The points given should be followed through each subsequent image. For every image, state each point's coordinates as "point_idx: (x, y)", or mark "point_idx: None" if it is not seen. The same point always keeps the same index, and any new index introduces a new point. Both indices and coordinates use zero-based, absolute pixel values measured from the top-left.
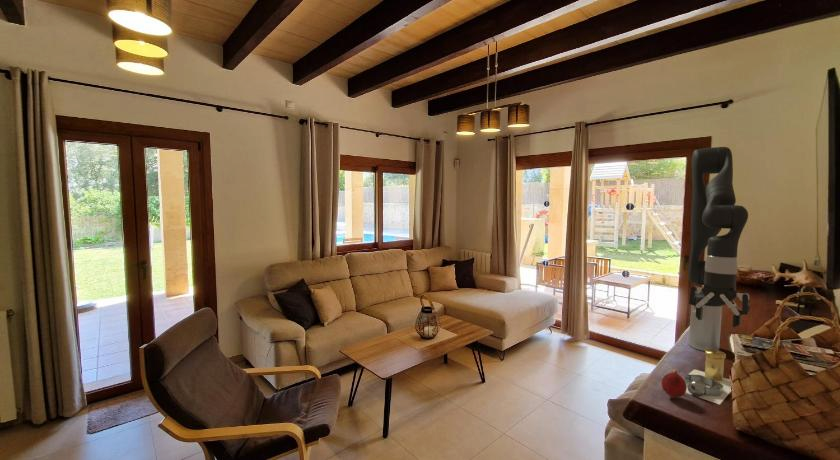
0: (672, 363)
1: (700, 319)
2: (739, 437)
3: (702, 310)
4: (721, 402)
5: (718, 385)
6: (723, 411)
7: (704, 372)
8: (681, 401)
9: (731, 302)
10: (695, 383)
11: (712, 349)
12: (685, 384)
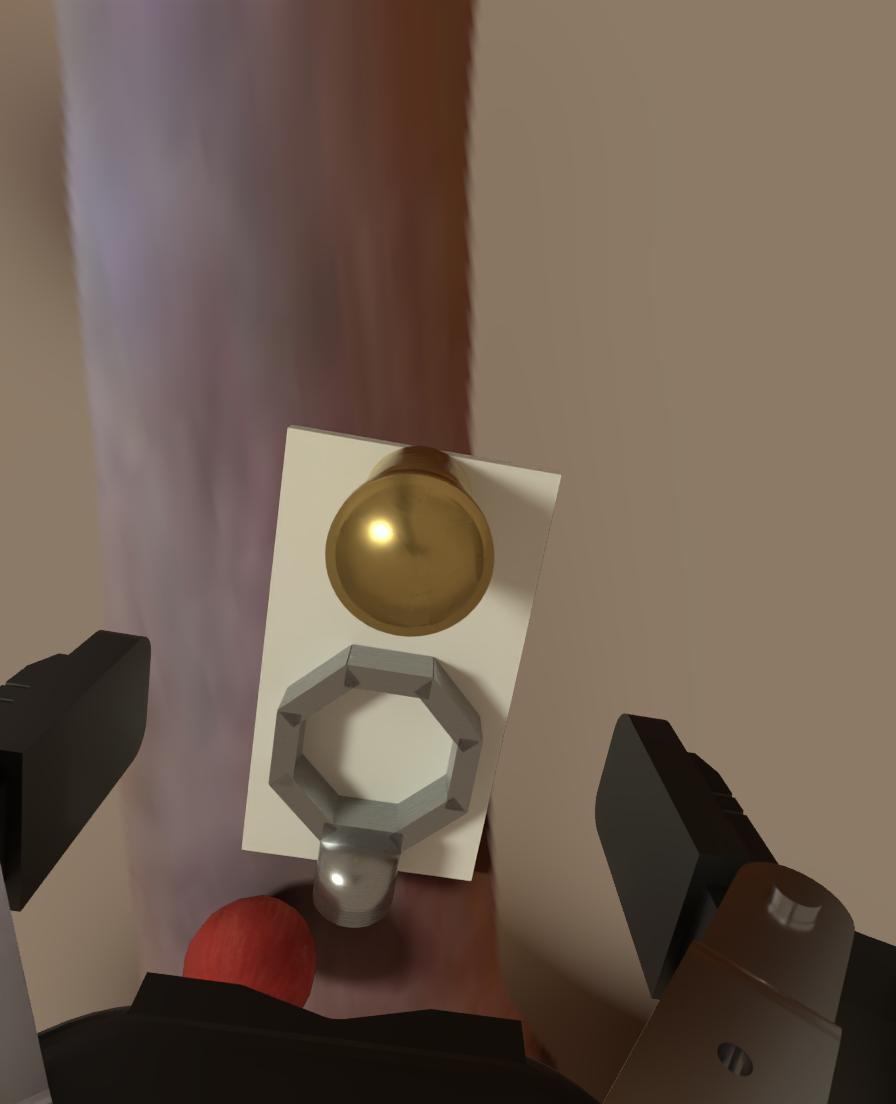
0: (128, 343)
1: (137, 744)
2: (545, 1059)
3: (57, 758)
4: (477, 851)
5: (457, 759)
6: (487, 886)
7: (356, 445)
8: (310, 914)
9: (714, 1073)
10: (346, 926)
11: (380, 482)
12: (304, 996)
